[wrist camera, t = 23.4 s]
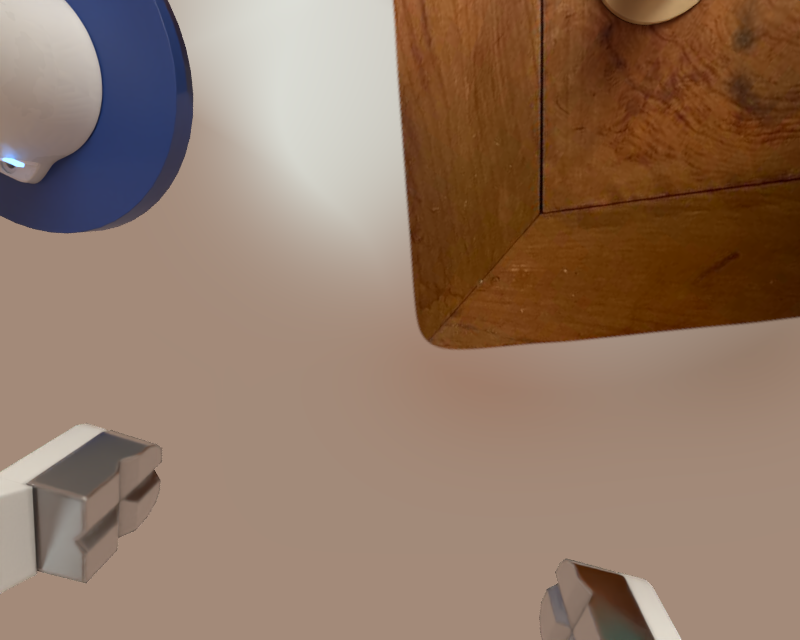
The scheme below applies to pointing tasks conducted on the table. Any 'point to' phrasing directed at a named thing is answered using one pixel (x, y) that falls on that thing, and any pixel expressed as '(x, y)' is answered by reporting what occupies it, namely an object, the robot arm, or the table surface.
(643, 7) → the coaster
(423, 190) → the table surface
